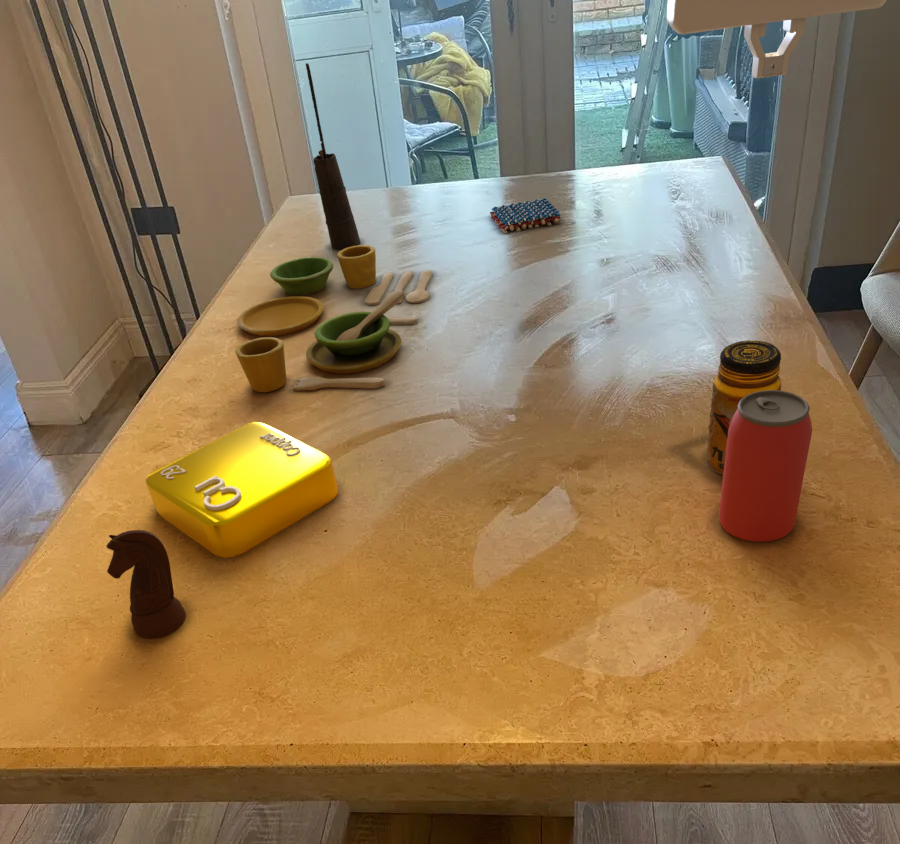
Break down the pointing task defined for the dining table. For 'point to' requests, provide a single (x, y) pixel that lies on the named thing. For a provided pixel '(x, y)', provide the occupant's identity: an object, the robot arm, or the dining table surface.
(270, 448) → the element tile
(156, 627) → the chess piece
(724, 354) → the condiment
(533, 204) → the woven mat
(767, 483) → the beer can
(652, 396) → the dining table surface
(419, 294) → the tableware set
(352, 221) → the butter churn
